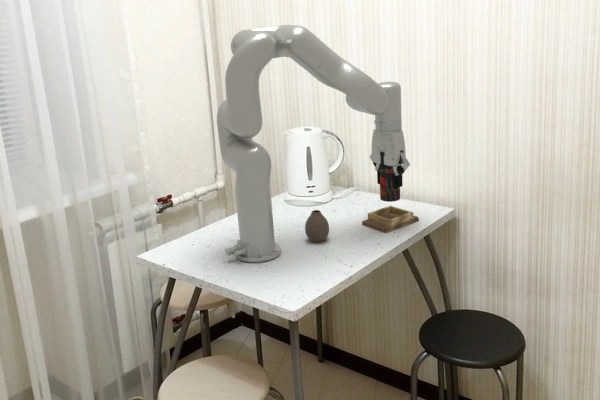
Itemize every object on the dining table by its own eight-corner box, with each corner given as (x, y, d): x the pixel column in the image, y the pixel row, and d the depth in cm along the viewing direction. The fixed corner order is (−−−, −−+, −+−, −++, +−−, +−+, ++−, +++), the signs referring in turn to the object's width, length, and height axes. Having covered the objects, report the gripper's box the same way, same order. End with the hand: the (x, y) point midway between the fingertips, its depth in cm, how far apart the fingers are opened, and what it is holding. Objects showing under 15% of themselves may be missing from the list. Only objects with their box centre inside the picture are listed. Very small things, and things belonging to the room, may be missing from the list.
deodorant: (401, 201, 194) (400, 151, 190) (381, 202, 195) (379, 152, 190) (399, 194, 200) (398, 146, 195) (379, 196, 200) (377, 147, 195)
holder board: (385, 233, 192) (385, 222, 191) (362, 224, 199) (361, 214, 198) (418, 220, 200) (418, 210, 199) (394, 213, 207) (394, 203, 206)
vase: (327, 244, 186) (326, 215, 183) (303, 244, 188) (301, 215, 185) (331, 235, 193) (329, 207, 190) (308, 235, 194) (306, 207, 191)
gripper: (358, 124, 195) (360, 182, 200) (401, 131, 182) (402, 194, 187) (376, 119, 199) (378, 177, 205) (419, 126, 186) (420, 187, 191)
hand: (389, 184), depth 196 cm, fingers closed on deodorant, 5 cm apart
